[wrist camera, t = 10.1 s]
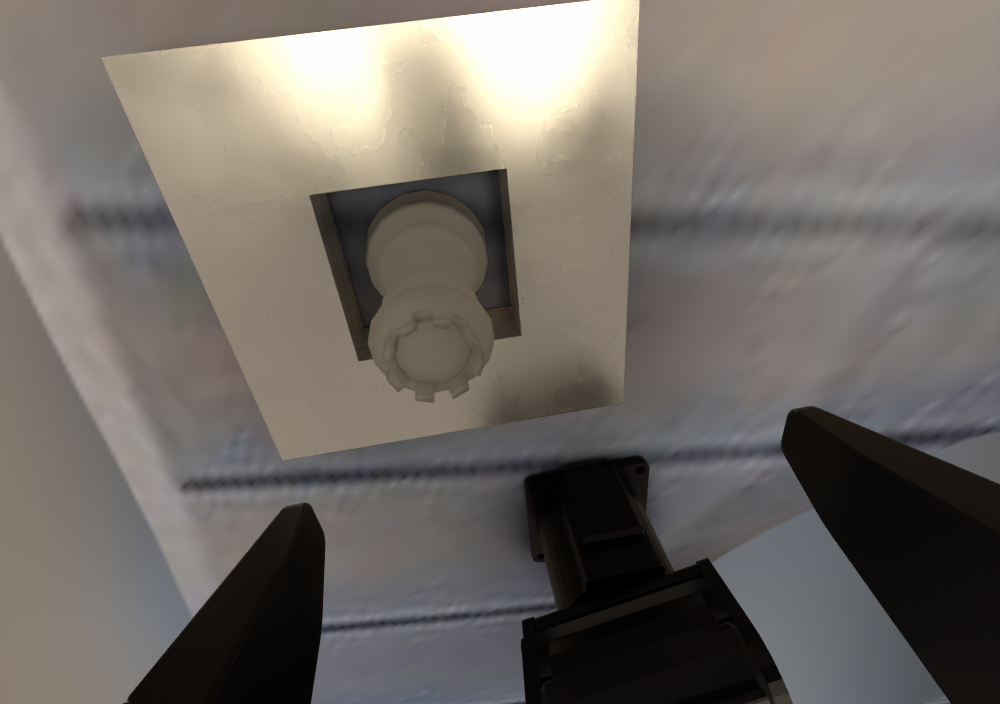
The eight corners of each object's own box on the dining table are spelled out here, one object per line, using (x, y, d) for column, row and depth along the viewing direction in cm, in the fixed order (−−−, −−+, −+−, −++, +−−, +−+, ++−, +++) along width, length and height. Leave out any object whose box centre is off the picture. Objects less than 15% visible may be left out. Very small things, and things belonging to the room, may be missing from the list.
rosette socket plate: (604, 369, 23) (623, 402, 21) (294, 420, 22) (282, 460, 20) (609, 0, 16) (639, -5, 14) (145, 54, 15) (100, 57, 13)
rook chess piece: (505, 215, 19) (555, 315, 12) (458, 315, 21) (479, 448, 14) (389, 165, 18) (373, 247, 11) (350, 277, 19) (316, 406, 13)
